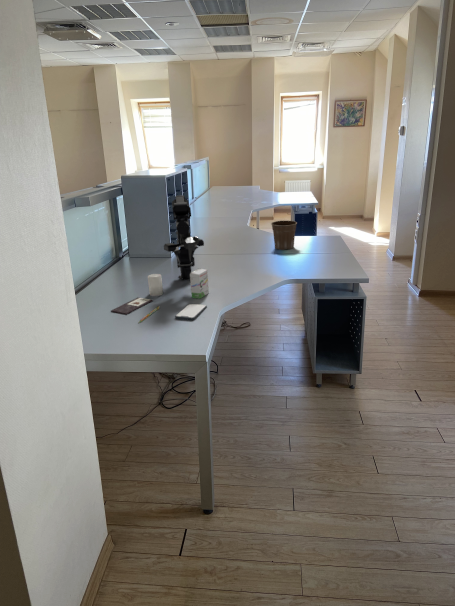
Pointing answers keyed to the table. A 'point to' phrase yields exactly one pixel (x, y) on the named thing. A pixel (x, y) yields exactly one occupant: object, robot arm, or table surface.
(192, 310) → the smartphone
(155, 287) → the white rounded cylinder
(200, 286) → the ink box
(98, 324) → the table surface
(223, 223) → the table surface
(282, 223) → the plant pot
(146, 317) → the pencil
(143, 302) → the chocolate bar
